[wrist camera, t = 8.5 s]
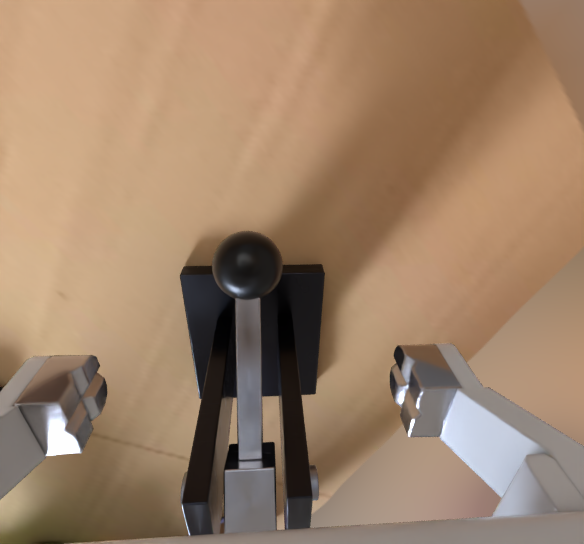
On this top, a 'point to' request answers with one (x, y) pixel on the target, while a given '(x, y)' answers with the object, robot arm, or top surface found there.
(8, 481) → the robot arm
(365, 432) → the top surface
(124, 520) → the top surface
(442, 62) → the top surface
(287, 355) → the bracket
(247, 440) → the lever
